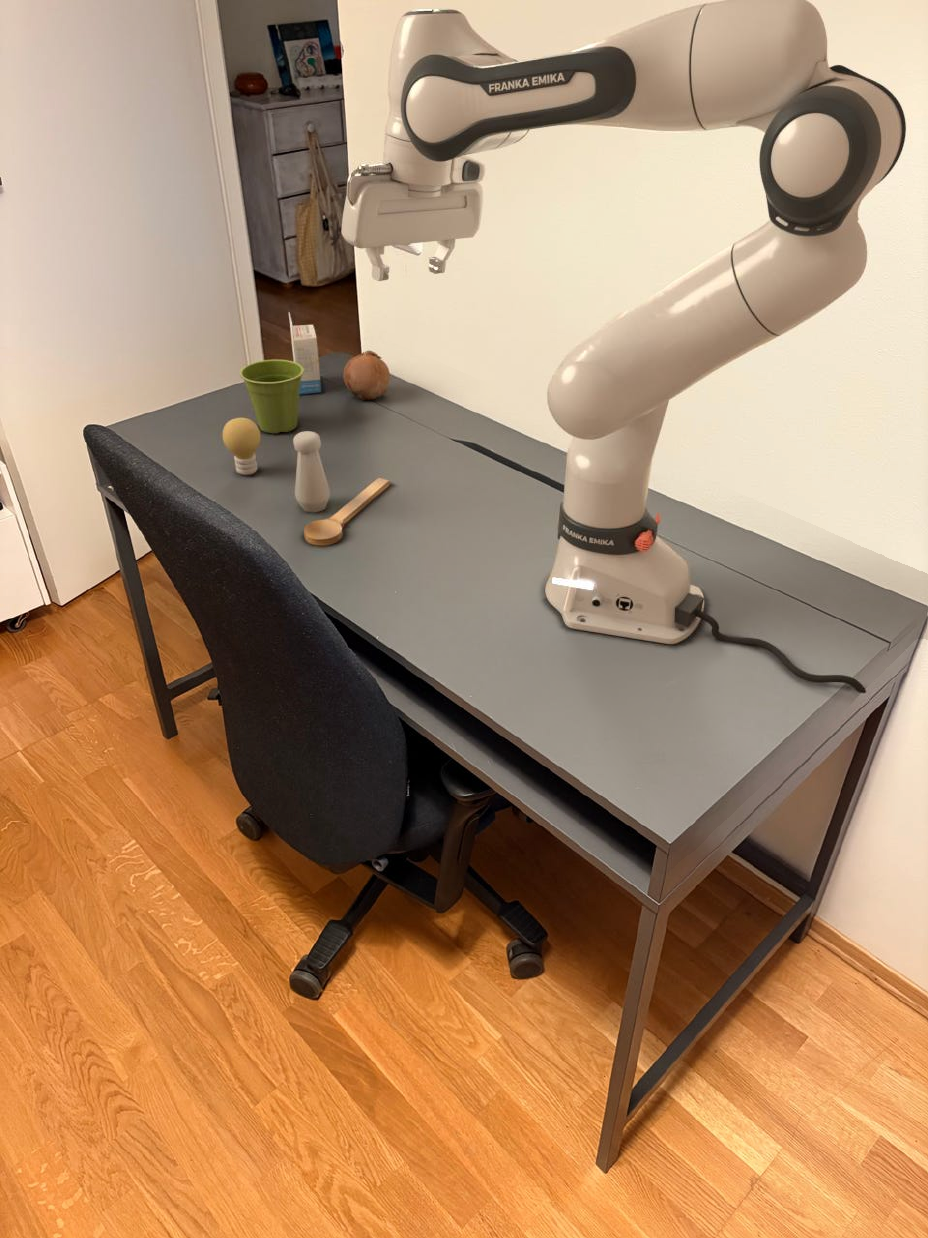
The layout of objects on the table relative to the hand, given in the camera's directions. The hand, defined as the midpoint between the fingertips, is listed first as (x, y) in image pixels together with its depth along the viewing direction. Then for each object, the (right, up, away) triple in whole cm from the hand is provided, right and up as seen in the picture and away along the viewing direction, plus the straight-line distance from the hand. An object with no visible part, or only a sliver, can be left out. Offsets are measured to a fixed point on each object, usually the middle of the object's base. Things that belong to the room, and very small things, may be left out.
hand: (408, 275), depth 121 cm
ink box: (-25, +3, +71) cm, 76 cm away
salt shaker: (-18, -27, +31) cm, 45 cm away
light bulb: (-31, -20, +41) cm, 55 cm away
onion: (-12, 0, +67) cm, 68 cm away
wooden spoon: (-11, -28, +29) cm, 42 cm away
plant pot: (-28, -8, +56) cm, 63 cm away
